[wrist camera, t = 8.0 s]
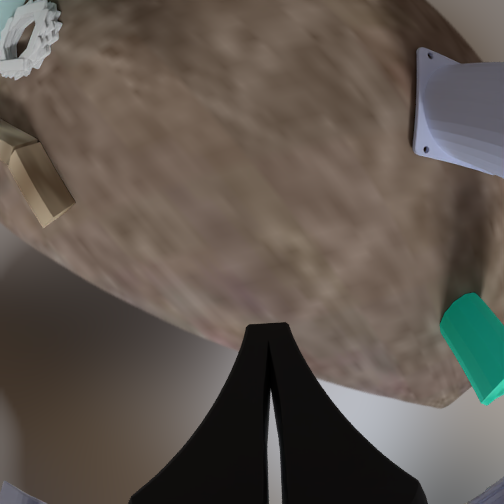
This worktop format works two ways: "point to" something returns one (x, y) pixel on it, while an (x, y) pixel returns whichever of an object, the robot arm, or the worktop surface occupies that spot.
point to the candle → (476, 344)
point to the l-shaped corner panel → (12, 26)
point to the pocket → (34, 174)
